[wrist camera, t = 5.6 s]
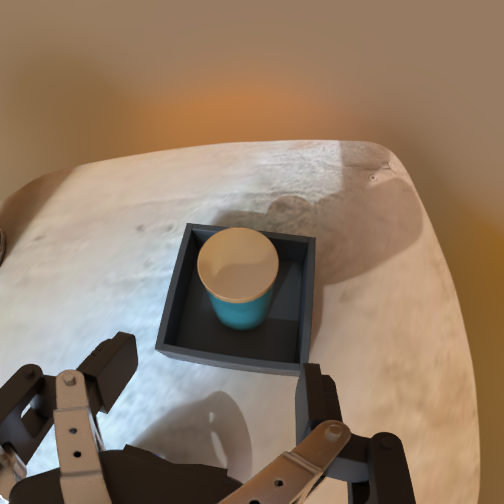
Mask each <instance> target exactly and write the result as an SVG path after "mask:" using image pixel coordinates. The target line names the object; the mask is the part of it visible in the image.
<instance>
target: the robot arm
mask: <svg viewBox="0 0 504 504" xmlns="http://www.w3.org/2000/svg"><path fill="white" fill-rule="evenodd" d="M5 245H6V238H5V234H4V232H3V231H2V230H1V229H0V263H1V261H2V258H3V255H4V251H5ZM137 366H138V355H137V347H136V339H135V336H134V335H133V334H129V333H125V332H118V333H117V334H116V335H115V336H114V337H113V339H107V340H105V341H103V342H101V343H100V344H99V345H98V346H97V347H96V348H95V350H93V351H92V353H91V355H89V356H88V357H87V358H86V359H85V360H84V361H83V362H82V363H81V364H80V365H79V367H78V368H77V369H76V370H65V371H63V372H61V373H59V374H58V375H57V377H56V376H49V375H43V372H42V369H41V368H40V367H39V366H38V365H35V364H27V365H24V366H22V367H21V368H20V369H19V370H18V371H17V372H16V373H15V374H14V375H13V376H12V377H11V378H10V379H9V380H8V381H7V382H6V383H5V384H4V385H3V386H2V387H1V388H0V499H2V500H3V501H5V502H6V503H7V504H303V503H304V502H305V500H306V499H307V498H308V497H309V496H310V495H311V494H312V493H313V492H314V491H315V490H316V489H317V488H318V487H319V486H320V484H321V483H322V482H323V481H324V480H325V479H326V478H327V477H330V478H334V479H338V480H342V481H347V486H348V504H416V501H415V496H414V492H413V487H412V482H411V478H410V473H409V469H408V465H407V461H406V457H405V453H404V449H403V445H402V442H401V440H400V439H399V438H398V437H397V436H396V435H394V434H392V433H389V432H380V433H377V434H375V435H374V436H373V437H372V438H366V437H362V436H358V435H355V434H353V433H351V432H350V429H349V428H348V427H347V425H345V424H344V423H343V421H342V415H341V410H340V405H339V400H338V395H337V392H336V391H337V390H336V385H335V382H334V381H333V379H332V378H331V377H330V376H329V375H321V370H320V365H319V364H315V363H303V364H302V367H301V371H300V375H299V379H298V383H297V387H296V393H295V415H296V447H295V448H294V449H293V450H292V451H291V452H287V451H286V452H284V453H282V454H281V455H280V456H278V457H277V458H276V459H275V460H274V461H272V462H271V463H270V464H269V465H268V466H266V467H265V468H264V469H263V470H262V471H260V472H259V473H258V474H257V475H255V476H254V477H253V478H252V479H250V480H249V481H248V482H246V483H245V484H243V483H241V482H240V481H238V480H236V479H234V478H232V477H229V476H227V470H228V469H224V468H218V467H212V466H207V465H202V464H173V463H170V462H168V461H166V460H164V459H162V458H160V457H159V456H157V455H155V454H153V453H151V452H149V451H146V450H143V449H140V448H136V447H133V446H130V445H127V444H126V445H125V447H124V449H123V450H107V451H106V449H105V446H104V443H103V439H102V435H101V432H100V428H99V423H98V419H97V416H96V415H97V413H98V412H99V411H100V412H103V413H106V414H108V412H109V411H110V409H111V408H112V406H113V405H114V403H115V402H116V400H117V399H118V397H119V396H120V394H121V393H122V391H123V390H124V388H125V387H126V385H127V384H128V382H129V381H130V379H131V378H132V376H133V375H134V373H135V372H136V370H137ZM29 403H30V405H31V407H30V408H29V409H28V411H27V412H26V413H25V415H24V416H23V417H22V418H21V414H22V412H23V410H24V409H25V408H26V406H27V405H28V404H29ZM53 424H54V427H55V436H56V445H57V452H58V459H59V465H60V467H59V468H56V469H53V470H50V471H47V472H44V473H40V474H37V475H34V476H31V477H27V478H26V475H27V469H26V465H27V464H28V462H29V460H30V459H31V457H32V456H33V454H34V453H35V451H36V449H37V448H38V446H39V445H40V443H41V442H42V440H43V439H44V437H45V436H46V434H47V433H48V431H49V430H50V428H51V427H52V425H53Z"/></svg>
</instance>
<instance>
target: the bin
mask: <svg viewBox="0 0 504 504" xmlns="http://www.w3.org/2000/svg"><path fill="white" fill-rule="evenodd" d="M228 228H229V227H219V226H210V225H201V224H192V223H187V225H186V228H185V232H184V235H183V238H182V242H181V245H180V249H179V253H178V256H177V260H176V263H175V267H174V271H173V275H172V278H171V282H170V286H169V290H168V294H167V298H166V302H165V306H164V310H163V314H162V319H161V323H160V327H159V332H158V336H157V341H156V345H155V350H157V351H158V352H160V353H162V354H163V355H165V356H167V357H169V358H173V359H178V360H183V361H188V362H193V363H198V364H204V365H210V366H215V367H222V368H228V369H235V370H242V371H249V372H257V373H266V374H275V375H285V376H296V377H299V375H300V371H301V367H302V364H303V363H308V361H309V349H310V337H311V324H312V309H313V291H314V270H315V240H316V238H313V237H305V236H297V235H289V234H281V233H272V232H264V231H258V232H260V233H261V234H263V235H264V236H266V237H267V238H268V239H269V240H270V241H271V243H272V244H273V245H274V247H275V249H276V251H277V254H278V259H279V267H278V273H277V277H276V280H275V282H274V286H273V291H272V296H271V302H270V307H269V312H268V315H267V317H266V319H265V320H264V322H263V323H262V324H261V325H260V326H258V327H257V328H255V329H253V330H251V331H247V332H236V331H232V330H230V329H228V328H226V327H225V326H223V325H222V324H221V323H220V322H219V320H218V319H217V317H216V315H215V312H214V309H213V307H212V304H211V301H210V299H209V296H208V293H207V291H206V288H205V287H204V285H203V283H202V281H201V279H200V276H199V273H198V267H197V261H198V256H199V253H200V250H201V248H202V247H203V245H204V244H205V242H206V241H207V240H208V239H209V238H210V237H211V236H213V235H214V234H216V233H218V232H220V231H222V230H225V229H228Z"/></svg>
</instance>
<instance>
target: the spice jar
mask: <svg viewBox="0 0 504 504" xmlns="http://www.w3.org/2000/svg"><path fill="white" fill-rule="evenodd" d="M197 267H198V273H199V276H200V279H201V281H202V283H203V285H204V287H205V288H206V291H207V293H208V296H209V299H210V301H211V304H212V307H213V309H214V312H215V315H216V317H217V319H218V320H219V322H220V323H221V324H222V325H223V326H225V327H226V328H228V329H230V330H232V331H236V332H247V331H251V330H253V329H255V328H257V327H258V326H260V325H261V324H262V323H263V322H264V320H265V319H266V317H267V315H268V312H269V307H270V302H271V296H272V291H273V286H274V282H275V280H276V277H277V273H278V267H279V259H278V254H277V251H276V249H275V247H274V245H273V244H272V243H271V241H270V240H269V239H268V238H267V237H266V236H264V235H263V234H261V233H260V232H258V231H255V230H253V229H249V228H244V227H234V228H228V229H225V230H222V231H220V232H218V233H216V234H214V235H213V236H211V237H210V238H209V239H208V240H207V241H206V242H205V244H204V245H203V247H202V248H201V250H200V253H199V256H198V261H197Z"/></svg>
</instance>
